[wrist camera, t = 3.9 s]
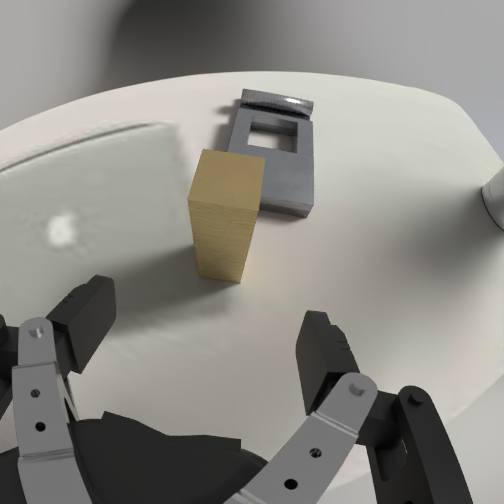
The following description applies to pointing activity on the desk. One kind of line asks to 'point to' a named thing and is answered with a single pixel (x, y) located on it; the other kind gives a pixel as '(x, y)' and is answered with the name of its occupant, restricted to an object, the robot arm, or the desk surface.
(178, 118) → the desk surface
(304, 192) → the upper end link
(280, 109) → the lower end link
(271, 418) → the desk surface
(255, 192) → the pine wood offcut
